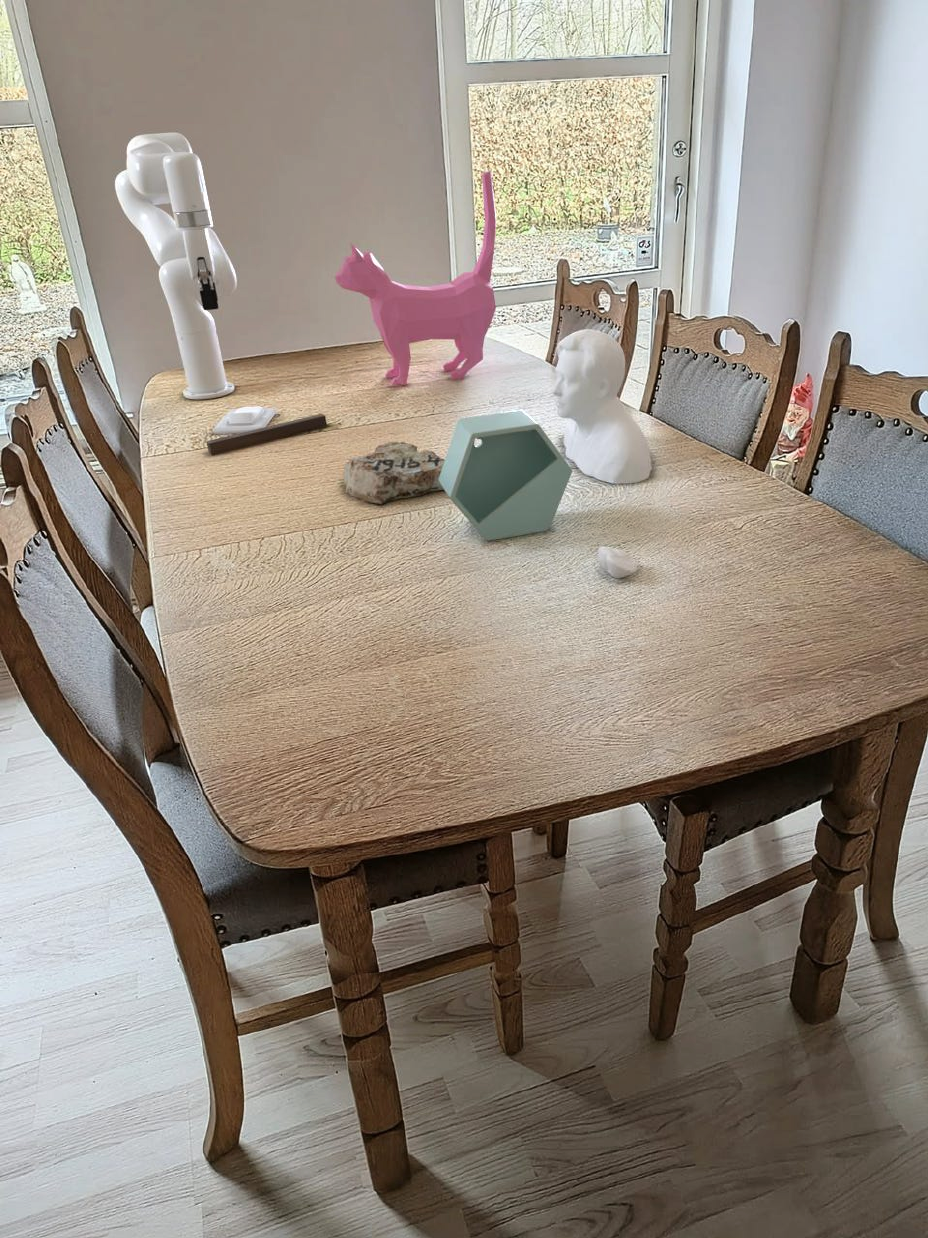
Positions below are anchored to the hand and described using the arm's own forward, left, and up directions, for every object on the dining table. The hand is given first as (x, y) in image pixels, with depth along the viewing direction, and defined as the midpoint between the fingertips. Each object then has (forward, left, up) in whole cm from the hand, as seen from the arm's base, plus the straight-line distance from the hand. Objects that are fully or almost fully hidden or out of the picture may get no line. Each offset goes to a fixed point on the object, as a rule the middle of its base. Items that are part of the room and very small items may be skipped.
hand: (211, 305), depth 189 cm
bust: (+80, +43, -24) cm, 94 cm away
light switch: (+11, -1, -24) cm, 27 cm away
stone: (+63, +8, -24) cm, 68 cm away
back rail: (+25, -1, -24) cm, 35 cm away
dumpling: (+117, +15, -24) cm, 120 cm away
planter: (+94, +12, -24) cm, 98 cm away
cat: (+8, +48, -24) cm, 55 cm away
